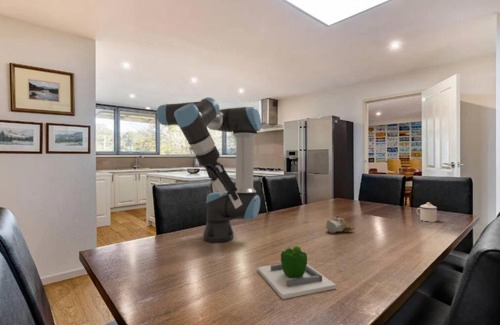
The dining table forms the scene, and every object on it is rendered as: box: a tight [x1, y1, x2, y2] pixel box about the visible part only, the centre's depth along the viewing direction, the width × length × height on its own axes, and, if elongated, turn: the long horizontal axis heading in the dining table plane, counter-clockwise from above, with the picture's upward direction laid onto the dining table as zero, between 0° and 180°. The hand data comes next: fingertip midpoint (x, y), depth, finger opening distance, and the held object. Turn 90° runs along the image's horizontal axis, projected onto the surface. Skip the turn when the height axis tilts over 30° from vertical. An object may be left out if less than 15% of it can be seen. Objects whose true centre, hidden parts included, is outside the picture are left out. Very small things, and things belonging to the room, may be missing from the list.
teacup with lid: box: [416, 201, 438, 223], centre depth 167 cm, size 12×9×12 cm
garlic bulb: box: [325, 216, 355, 234], centre depth 142 cm, size 11×9×15 cm
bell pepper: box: [280, 245, 308, 278], centre depth 86 cm, size 8×8×10 cm
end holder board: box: [257, 263, 337, 300], centre depth 86 cm, size 20×18×3 cm
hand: (230, 199), depth 96 cm, fingers open, 13 cm apart
